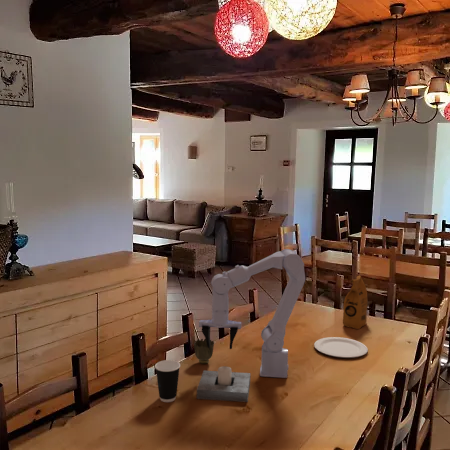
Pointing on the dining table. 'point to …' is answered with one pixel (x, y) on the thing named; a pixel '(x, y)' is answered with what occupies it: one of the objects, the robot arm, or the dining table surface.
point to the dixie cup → (167, 379)
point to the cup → (203, 350)
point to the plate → (341, 347)
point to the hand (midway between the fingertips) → (219, 347)
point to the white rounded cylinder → (224, 376)
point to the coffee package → (355, 305)
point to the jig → (224, 387)
